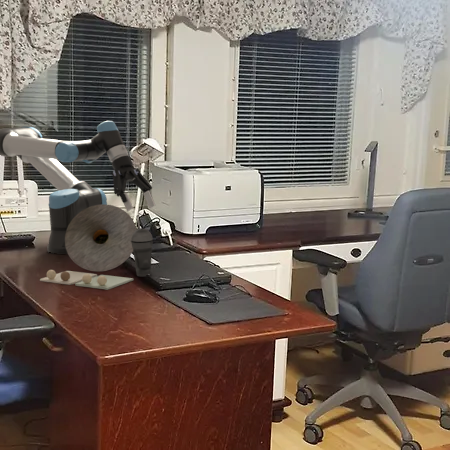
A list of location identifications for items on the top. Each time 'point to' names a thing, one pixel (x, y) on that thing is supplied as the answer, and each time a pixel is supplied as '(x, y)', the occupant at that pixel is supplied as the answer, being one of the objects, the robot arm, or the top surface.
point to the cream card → (72, 275)
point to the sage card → (108, 284)
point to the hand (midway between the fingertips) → (141, 208)
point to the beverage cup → (142, 250)
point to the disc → (100, 237)
